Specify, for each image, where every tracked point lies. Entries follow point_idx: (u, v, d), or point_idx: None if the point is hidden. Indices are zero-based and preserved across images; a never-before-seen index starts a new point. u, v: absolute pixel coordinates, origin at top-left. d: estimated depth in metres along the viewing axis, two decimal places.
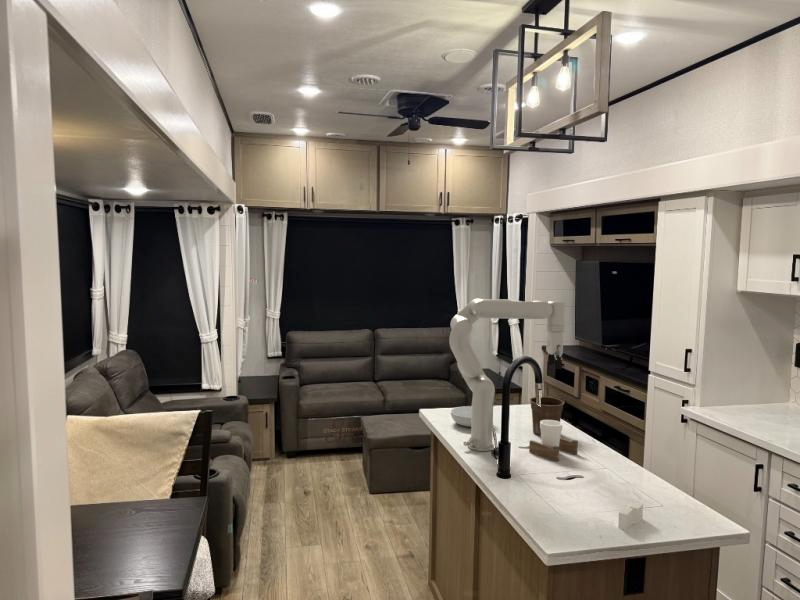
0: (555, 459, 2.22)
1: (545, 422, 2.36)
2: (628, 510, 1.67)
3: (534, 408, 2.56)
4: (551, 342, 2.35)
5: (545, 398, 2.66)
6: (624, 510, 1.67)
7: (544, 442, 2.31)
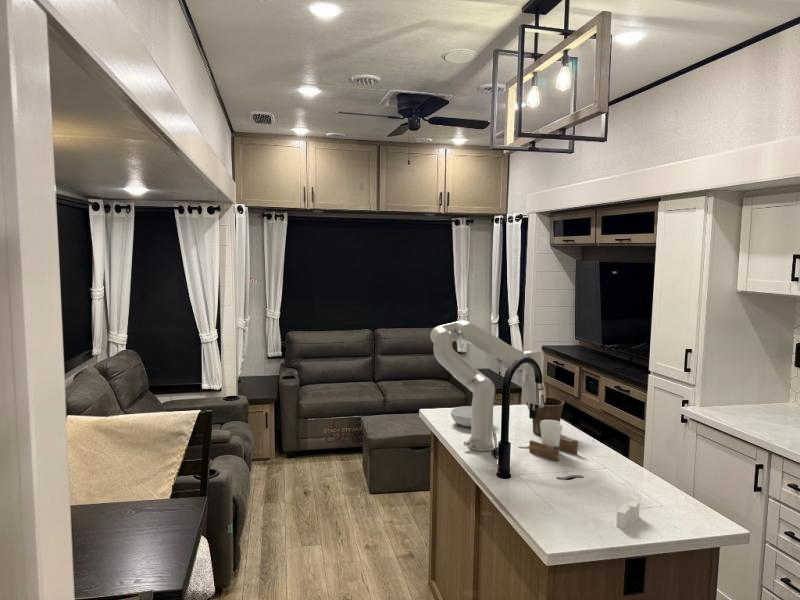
0: (555, 459, 2.22)
1: (545, 422, 2.36)
2: (626, 509, 1.68)
3: None
4: None
5: None
6: (622, 509, 1.68)
7: (544, 442, 2.31)
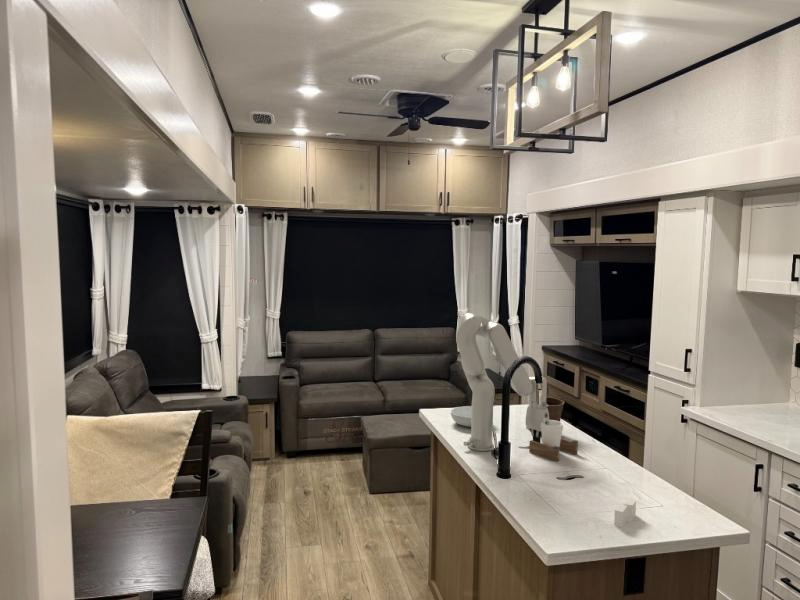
0: (555, 459, 2.22)
1: None
2: (623, 507, 1.69)
3: None
4: None
5: None
6: (619, 507, 1.69)
7: (545, 442, 2.31)
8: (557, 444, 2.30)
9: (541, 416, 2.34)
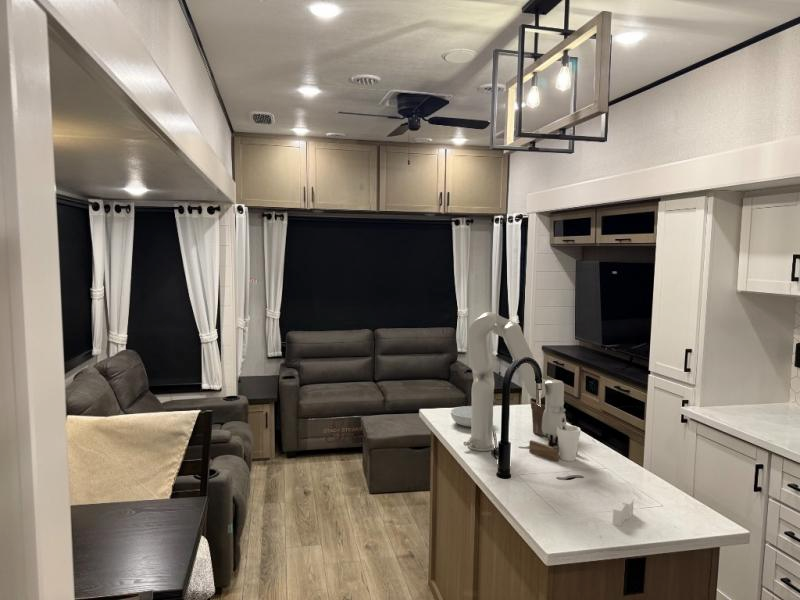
0: (555, 459, 2.22)
1: None
2: (621, 506, 1.70)
3: (534, 408, 2.56)
4: None
5: (545, 398, 2.66)
6: (618, 506, 1.70)
7: (561, 448, 2.24)
8: (574, 450, 2.22)
9: (558, 421, 2.27)
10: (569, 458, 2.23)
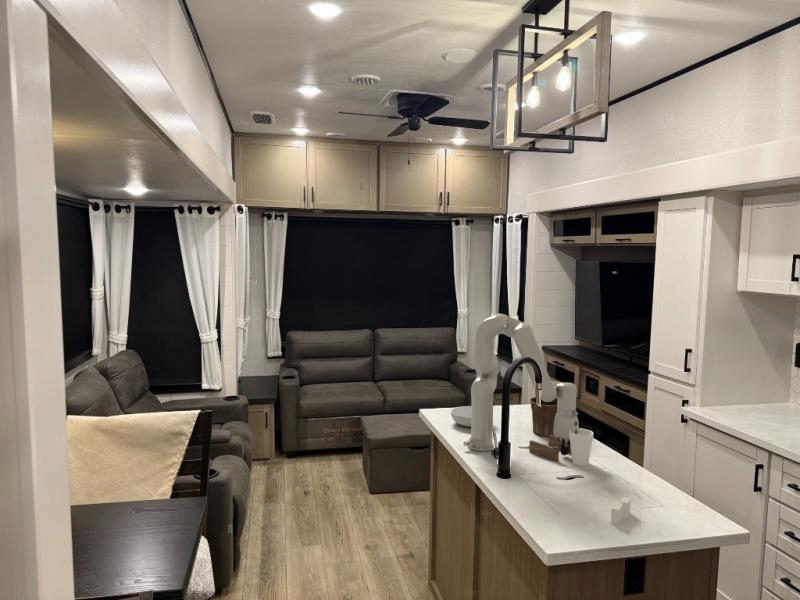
0: (555, 459, 2.22)
1: None
2: (619, 505, 1.70)
3: (534, 408, 2.56)
4: None
5: None
6: (615, 505, 1.70)
7: (573, 452, 2.19)
8: (586, 454, 2.17)
9: (571, 425, 2.22)
10: (582, 462, 2.18)
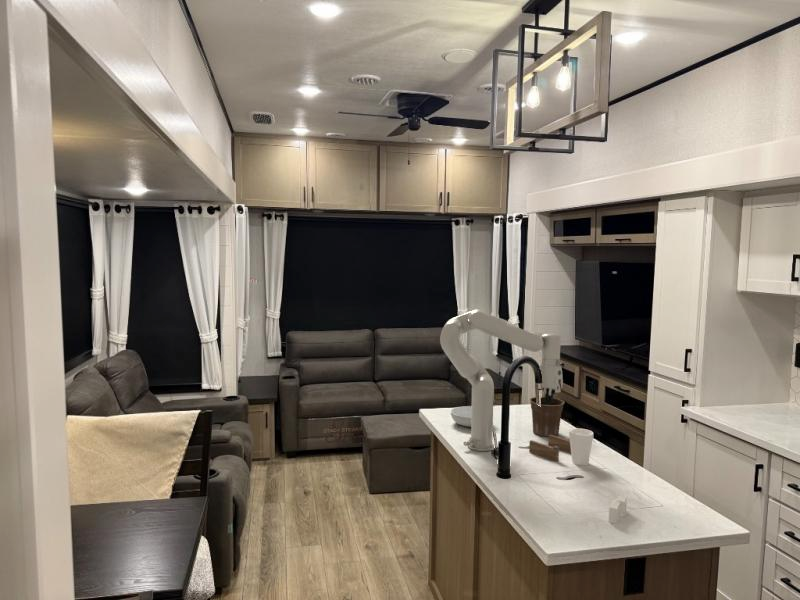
0: (555, 459, 2.22)
1: (575, 431, 2.24)
2: (616, 504, 1.71)
3: (534, 408, 2.56)
4: None
5: None
6: (613, 504, 1.71)
7: (573, 452, 2.19)
8: (586, 454, 2.17)
9: (554, 374, 2.28)
10: (582, 462, 2.18)
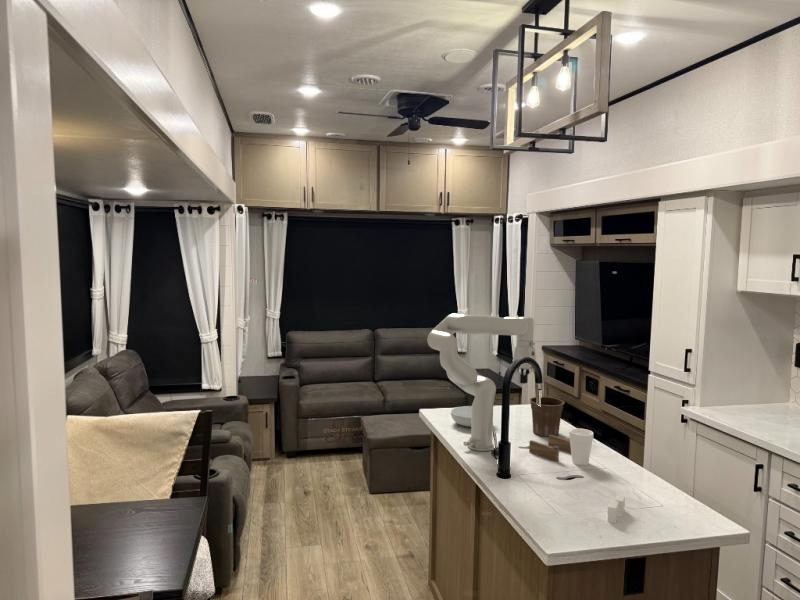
0: (555, 459, 2.22)
1: (575, 431, 2.24)
2: (615, 503, 1.72)
3: (534, 408, 2.56)
4: None
5: (545, 398, 2.66)
6: (612, 504, 1.72)
7: (573, 452, 2.19)
8: (586, 454, 2.17)
9: (528, 354, 2.42)
10: (582, 462, 2.18)
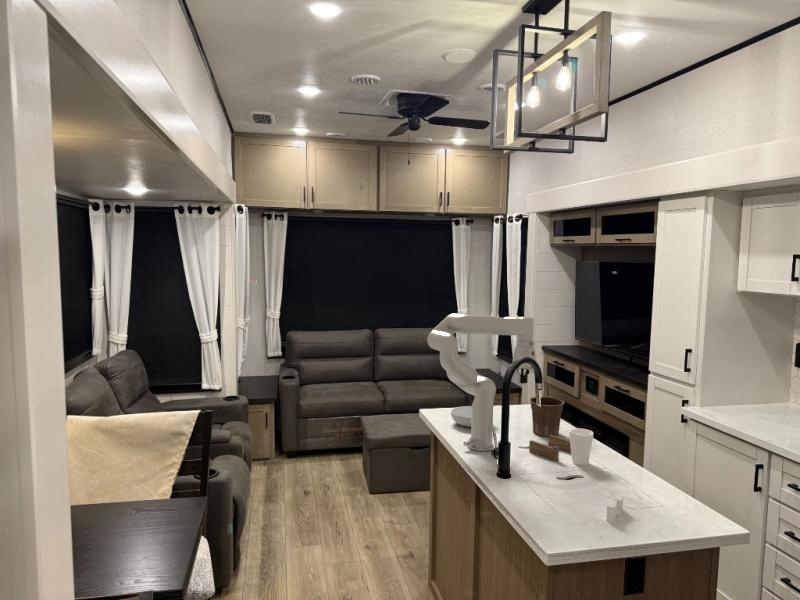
0: (555, 459, 2.22)
1: (575, 431, 2.24)
2: (614, 503, 1.72)
3: (534, 408, 2.56)
4: None
5: (545, 398, 2.66)
6: (610, 503, 1.72)
7: (573, 452, 2.19)
8: (586, 454, 2.17)
9: (528, 354, 2.42)
10: (582, 462, 2.18)
